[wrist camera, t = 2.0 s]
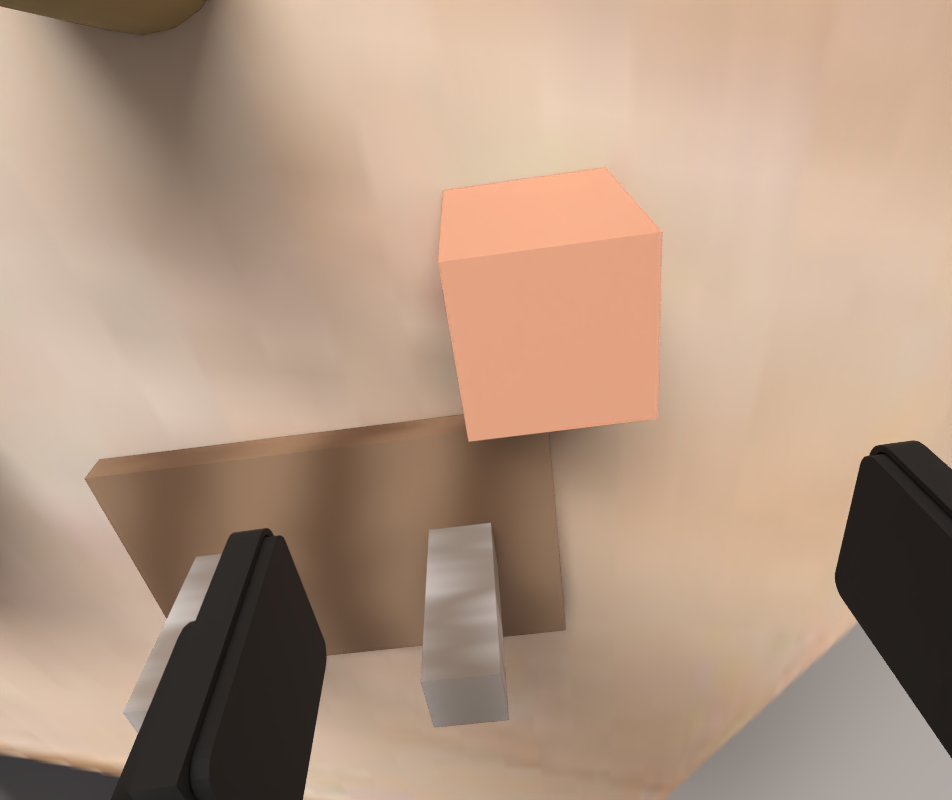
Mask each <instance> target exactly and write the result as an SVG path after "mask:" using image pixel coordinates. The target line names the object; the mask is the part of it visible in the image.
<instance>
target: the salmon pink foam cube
mask: <svg viewBox="0 0 952 800" xmlns="http://www.w3.org/2000/svg"><path fill="white" fill-rule="evenodd" d="M438 265H439V271H440V276H441V282H442V288H443V294H444V300H445V306H446V312H447V318H448V324H449V329H450V335H451V341H452V347H453V353H454V359H455V365H456V371H457V377H458V382H459V388H460V394H461V400H462V406H463V412H464V418H465V424H466V430H467V436H468V441H469V442H470V441H478V440H486V439H494V438H503V437H511V436H519V435H527V434H536V433H544V432H552V431H560V430H568V429H577V428H585V427H593V426H601V425H610V424H618V423H626V422H634V421H642V420H651V419H658V391H659V350H660V308H661V267H662V231H661V230H660V229H659V227H658V226H657V225H656V224H655V223H654V222H653V221H652V220H651V218H650V217H649V216H648V215H647V214H646V213H645V212H644V210H643V209H642V208H641V207H640V206H639V205H638V204H637V203H636V201H635V200H634V199H633V198H632V197H631V196H630V195H629V193H628V192H627V191H626V190H625V189H624V188H623V187H622V186H621V184H620V183H619V182H618V181H617V180H616V179H615V178H614V176H613V175H612V174H611V173H610V172H609V171H608V170H607V169H606V168H600V169H592V170H585V171H578V172H571V173H564V174H557V175H550V176H543V177H536V178H529V179H522V180H514V181H507V182H500V183H493V184H486V185H479V186H472V187H465V188H458V189H451V190H444V191H443V202H442V215H441V229H440V243H439V257H438Z"/></svg>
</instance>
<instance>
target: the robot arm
mask: <svg viewBox="0 0 952 800" xmlns="http://www.w3.org/2000/svg"><path fill="white" fill-rule="evenodd" d="M835 583H836V587H837V590H838V592H839V594H840V596H841V598H842V599H843V601H844V602H845V604H846V605H847V606H848V608H849V609H850V611H851V612H852V614H853V615H854V617H855V618H856V620H857V621H858V622H859V624H860V625H861V627H862V628H863V630H864V631H865V633H866V634H867V636H868V637H869V639H870V640H871V641H872V643H873V644H874V646H875V647H876V649H877V650H878V652H879V653H880V655H881V656H882V657H883V659H884V660H885V661H886V663H887V665H888V666H889V668H890V669H891V670H892V672H893V673H894V674H895V676H896V678H897V679H898V681H899V682H900V684H901V685H902V687H903V688H904V689H905V691H906V692H907V694H908V695H909V697H910V698H911V700H912V701H913V703H914V704H915V705H916V707H917V708H918V710H919V711H920V713H921V714H922V716H923V717H924V718H925V720H926V722H927V723H928V724H929V726H930V727H931V729H932V730H933V732H934V733H935V734H936V736H937V738H938V739H939V740H940V742H941V743H942V745H943V746H944V748H945V749H946V750H947V752H948V754H949V755H950V756H951V758H952V469H951V468H950V467H948V466H947V465H946V464H945V463H944V462H943V461H942V460H941V459H940V458H938V457H937V456H936V455H935V454H934V453H933V452H932V451H931V450H929V449H928V448H927V447H926V446H925V445H923V444H922V443H920V442H918V441H906V442H899V443H891V444H884V445H878V446H875V447H874V448H873V449H872V450H871V453H870V455H869V456H866V457H864V458H863V459H862V461H861V463H860V468H859V472H858V476H857V481H856V485H855V489H854V494H853V498H852V502H851V507H850V511H849V515H848V520H847V524H846V528H845V533H844V537H843V541H842V546H841V550H840V554H839V559H838V563H837V567H836V572H835ZM326 658H327V653H326V644H325V640H324V638H323V635H322V632H321V630H320V627H319V625H318V622H317V620H316V617H315V615H314V612H313V610H312V607H311V604H310V602H309V599H308V597H307V594H306V592H305V589H304V587H303V584H302V582H301V579H300V576H299V574H298V571H297V569H296V566H295V564H294V561H293V559H292V556H291V554H290V551H289V548H288V546H287V543H286V541H285V539H284V537H283V536H282V535H278V536H274V535H273V533H272V531H271V530H270V529H269V528H263V529H255V530H248V531H241V532H233V533H232V534H231V535H230V536H229V538H228V540H227V542H226V545H225V547H224V550H223V552H222V555H221V557H220V560H219V562H218V565H217V567H216V570H215V572H214V575H213V577H212V580H211V582H210V585H209V587H208V590H207V592H206V595H205V597H204V600H203V603H202V605H201V608H200V610H199V613H198V615H197V618H196V620H195V621H192V622H189V623H188V624H187V625H186V626H185V627H183V629H182V631H181V633H180V635H179V636H178V639H177V641H176V643H175V646H174V648H173V651H172V653H171V656H170V658H169V660H168V663H167V665H166V668H165V670H164V672H163V675H162V677H161V680H160V682H159V684H158V687H157V689H156V692H155V694H154V697H153V699H152V701H151V704H150V706H149V709H148V711H147V713H146V716H145V718H144V721H143V723H142V725H141V728H140V730H139V733H138V735H137V738H136V740H135V742H134V745H133V747H132V750H131V752H130V754H129V757H128V759H127V762H126V764H125V766H124V769H123V771H122V774H121V776H120V779H119V781H118V784H117V786H116V788H115V791H114V793H113V795H112V798H111V800H303V795H304V790H305V784H306V778H307V772H308V766H309V760H310V755H311V749H312V743H313V737H314V731H315V725H316V720H317V714H318V708H319V702H320V696H321V690H322V685H323V679H324V673H325V667H326Z"/></svg>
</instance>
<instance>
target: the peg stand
mask: <svg viewBox="0 0 952 800" xmlns="http://www.w3.org/2000/svg"><path fill="white" fill-rule="evenodd" d="M85 480H86V482H87V484H88V485H89V487H90V489H91V491H92V492H93V494H94V496H95V497H96V499H97V501H98V502H99V504H100V506H101V508H102V509H103V511H104V513H105V514H106V516H107V518H108V520H109V521H110V523H111V525H112V526H113V528H114V530H115V531H116V533H117V535H118V537H119V538H120V540H121V542H122V543H123V545H124V547H125V548H126V550H127V552H128V554H129V555H130V557H131V559H132V560H133V562H134V564H135V566H136V567H137V569H138V571H139V572H140V574H141V576H142V577H143V579H144V581H145V583H146V584H147V586H148V588H149V589H150V591H151V593H152V594H153V596H154V598H155V600H156V601H157V603H158V605H159V606H160V608H161V610H162V612H163V613H164V615H165V617H166V618H167V620H166V622H165V624H164V626H163V628H162V631H161V633H160V635H159V637H158V639H157V641H156V643H155V645H154V648H153V650H152V652H151V654H150V656H149V658H148V660H147V663H146V665H145V667H144V669H143V671H142V673H141V675H140V678H139V680H138V682H137V684H136V686H135V688H134V690H133V692H132V695H131V697H130V699H129V701H128V703H127V705H126V707H125V710H124V712H123V713H124V715H125V716H126V718H127V719H128V720H129V722H130V723H131V724H132V726H133V727H134V729H135V730H136V731H137V733H139V730H140V728H141V725H142V723H143V721H144V718H145V716H146V713H147V711H148V709H149V706H150V704H151V701H152V699H153V697H154V694H155V692H156V689H157V687H158V684H159V682H160V680H161V677H162V675H163V672H164V670H165V668H166V665H167V663H168V660H169V658H170V656H171V653H172V651H173V648H174V646H175V643H176V641H177V639H178V636H179V635H180V633H181V631H182V629H183V627H185V626H186V625H187V624H188V623H189V622H192V621H195V620H196V618H197V615H198V613H199V610H200V608H201V605H202V603H203V600H204V597H205V595H206V592H207V590H208V587H209V585H210V582H211V580H212V577H213V575H214V572H215V570H216V567H217V565H218V562H219V560H220V557H221V555H222V552H223V550H224V547H225V545H226V542H227V540H228V538H229V536H230V535H231V534H232V533H233V532H241V531H248V530H255V529H263V528H269V529H270V530H271V531H272V533H273V535H274V536H278V535H282V536H283V537H284V539H285V541H286V543H287V546H288V548H289V551H290V554H291V556H292V559H293V561H294V564H295V566H296V569H297V571H298V574H299V576H300V579H301V582H302V584H303V587H304V589H305V592H306V594H307V597H308V599H309V602H310V604H311V607H312V610H313V612H314V615H315V617H316V620H317V622H318V625H319V627H320V630H321V632H322V635H323V638H324V640H325V644H326V653H327V655H336V654H346V653H355V652H365V651H374V650H383V649H393V648H402V647H412V646H421V645H423V651H422V670H421V684H422V688H423V691H424V694H425V698H426V701H427V705H428V708H429V712H430V715H431V719H432V722H433V725H434V727H444V726H454V725H464V724H474V723H484V722H494V721H504V720H509V714H508V700H507V686H506V672H505V659H504V645H503V637H506V636H515V635H524V634H534V633H543V632H552V631H562V630H566V627H565V616H564V604H563V592H562V581H561V569H560V558H559V546H558V535H557V523H556V512H555V500H554V489H553V477H552V465H551V454H550V442H549V432H544V433H536V434H527V435H519V436H511V437H503V438H494V439H486V440H478V441H470V442H469V441H468V436H467V430H466V424H465V418H464V415H456V416H448V417H440V418H432V419H424V420H416V421H408V422H400V423H392V424H383V425H375V426H367V427H359V428H351V429H343V430H335V431H327V432H319V433H311V434H303V435H295V436H286V437H278V438H270V439H262V440H254V441H246V442H238V443H230V444H222V445H214V446H206V447H198V448H189V449H181V450H173V451H165V452H157V453H149V454H141V455H133V456H125V457H117V458H109V459H101V460H99V461H98V462H97V463H96V464H95V466H94V467H93V468H92V470H91V471H90V472H89V473H88V475H87V476H86V477H85Z"/></svg>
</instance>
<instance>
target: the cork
mask: <svg viewBox="0 0 952 800" xmlns="http://www.w3.org/2000/svg"><path fill="white" fill-rule="evenodd" d="M205 1H206V0H0V6H1V7H6V8H10V9H15V10H19V11H24V12H28V13H33V14H37V15H42V16H47V17H51V18H56V19H60V20H65V21H69V22H74V23H78V24H83V25H87V26H92V27H96V28H101V29H105V30H111V31H118V32H126V33H133V34H140V35H145V34H149V33H154V32H158V31H162V30H167V29H171V28H175V27H176V26H178V25H179V24H181V23H182V22H183V21H185V20H186V19H187V18H189V17H190V16H192V15H193V14H194V13H196V12H197V11H198V10H200V9H201V8H202V6H203V5H204V3H205Z"/></svg>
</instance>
